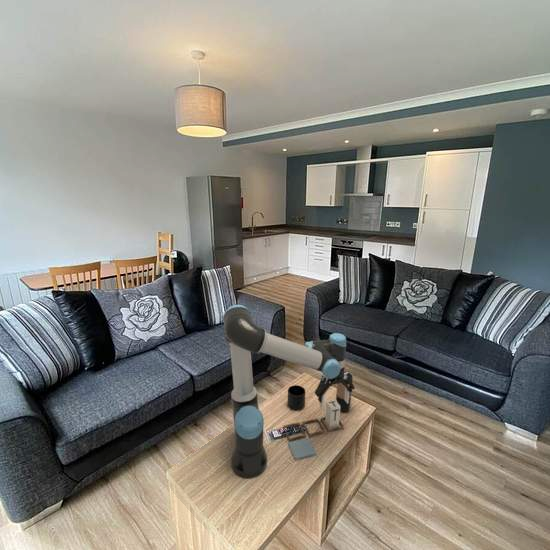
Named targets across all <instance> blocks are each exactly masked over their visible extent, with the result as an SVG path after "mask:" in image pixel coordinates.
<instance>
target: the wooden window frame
mask: <svg viewBox="0 0 550 550" xmlns="http://www.w3.org/2000/svg"><path fill="white" fill-rule="evenodd" d="M313 423H317V424H318V426H319V427H320V429H321V430H320V431H314V432H309V429H308V428H307V427H306V425H308V424H309V425H310V424H313ZM301 426H302V427H303V426H304V427H303V429H304V428H305V429H304V432H306V433H305V434H306V436H308V437H307V438H311V437H315V436H320V435H324V434H326V429H325V427H324V425H323V424H322V422H321V420H320V419H319V418H314V419H308V420H304V421H302V422H301Z"/></svg>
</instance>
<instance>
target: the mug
mask: <svg viewBox="0 0 550 550" xmlns="http://www.w3.org/2000/svg"><path fill="white" fill-rule="evenodd" d="M305 406H306V389H305V388H304V387H303V386H301V385H298V384H297V385H296V384H295V385H291V386H290V387H288V389H287V407H288V408H289V409H290V410H292V411H296V412H297V411H301V410H303V409H304V408H305Z"/></svg>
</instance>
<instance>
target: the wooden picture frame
mask: <svg viewBox="0 0 550 550" xmlns="http://www.w3.org/2000/svg"><path fill="white" fill-rule="evenodd" d="M296 425H299V426H300V427H299V426H298V427H299V429H300V428H301V429H300V431H301V433H302V434H301V435H296V436H292V437H290V436H289V433H288V431H287V428H286V427H290V426H295V427H297V426H296ZM283 428H284V429H285V428H286V429H285V432H286V434H285V436H286V438H287V441H288V442H292V441H296V440H301V439H305V438H307V433H305V432H306V431H305V429H304V427H303V425H302V423H301V422H295V423H289V424H285V425H283V426H282V429H283ZM284 429H283V430H284ZM285 432H284V433H285Z"/></svg>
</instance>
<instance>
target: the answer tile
mask: <svg viewBox="0 0 550 550" xmlns="http://www.w3.org/2000/svg"><path fill="white" fill-rule="evenodd" d="M287 445H288V448H289V449H290V451H291V452H290V453H291V454H292V456H293V458H294V459H293V460H294V461H298V460H302V459H303V460H304V459H307V458H311V457H315V456H317V452H316V449H315V447H314V445H313V444H312V442H311V440H310V437H306V438H303V439H298V440H294V441H290V442H289V441H288V443H287Z"/></svg>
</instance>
